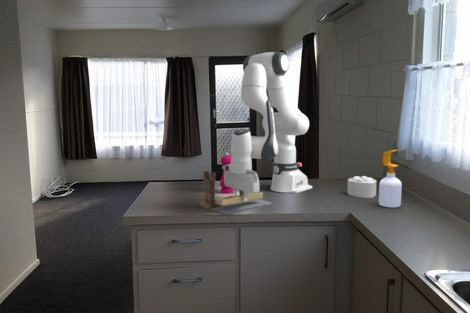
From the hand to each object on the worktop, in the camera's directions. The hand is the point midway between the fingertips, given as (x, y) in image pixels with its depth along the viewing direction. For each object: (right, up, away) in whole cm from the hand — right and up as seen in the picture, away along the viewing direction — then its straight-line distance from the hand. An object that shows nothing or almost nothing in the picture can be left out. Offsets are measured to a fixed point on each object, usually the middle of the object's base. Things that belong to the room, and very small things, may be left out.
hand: (241, 200), depth 186 cm
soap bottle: (+65, -3, +4) cm, 65 cm away
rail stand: (-7, -2, +9) cm, 11 cm away
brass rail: (0, 0, 0) cm, 0 cm away
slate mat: (+1, -3, +1) cm, 4 cm away
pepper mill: (-7, +1, +30) cm, 31 cm away
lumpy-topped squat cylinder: (+58, 0, +23) cm, 63 cm away
